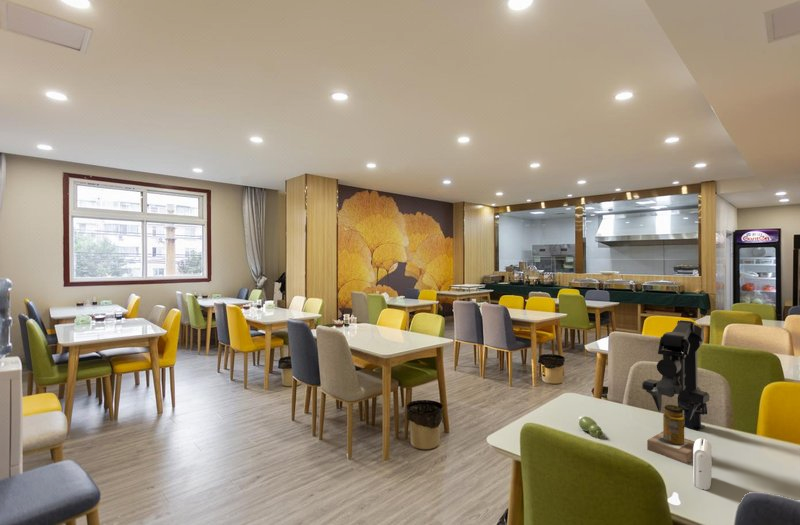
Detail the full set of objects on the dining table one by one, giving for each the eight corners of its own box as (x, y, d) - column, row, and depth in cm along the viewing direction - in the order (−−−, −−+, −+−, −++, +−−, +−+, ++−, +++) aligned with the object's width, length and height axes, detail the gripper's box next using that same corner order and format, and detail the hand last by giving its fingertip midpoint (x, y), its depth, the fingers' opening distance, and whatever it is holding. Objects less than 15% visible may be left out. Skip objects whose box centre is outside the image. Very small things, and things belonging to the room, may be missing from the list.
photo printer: (710, 492, 114) (710, 449, 114) (692, 486, 117) (692, 445, 117) (712, 477, 122) (712, 437, 122) (694, 472, 125) (694, 433, 125)
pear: (588, 413, 158) (607, 427, 149) (586, 425, 159) (605, 440, 150) (576, 414, 157) (595, 429, 147) (575, 427, 158) (593, 442, 148)
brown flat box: (662, 442, 146) (662, 431, 146) (701, 455, 136) (701, 443, 136) (647, 451, 140) (647, 440, 140) (686, 465, 130) (686, 453, 130)
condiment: (689, 442, 137) (689, 408, 137) (678, 449, 133) (678, 413, 132) (666, 435, 143) (665, 402, 143) (654, 441, 139) (654, 407, 138)
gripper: (634, 368, 141) (634, 411, 141) (696, 381, 126) (696, 430, 126) (649, 363, 147) (649, 405, 147) (710, 375, 132) (709, 422, 132)
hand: (674, 415), depth 138 cm, fingers open, 9 cm apart
